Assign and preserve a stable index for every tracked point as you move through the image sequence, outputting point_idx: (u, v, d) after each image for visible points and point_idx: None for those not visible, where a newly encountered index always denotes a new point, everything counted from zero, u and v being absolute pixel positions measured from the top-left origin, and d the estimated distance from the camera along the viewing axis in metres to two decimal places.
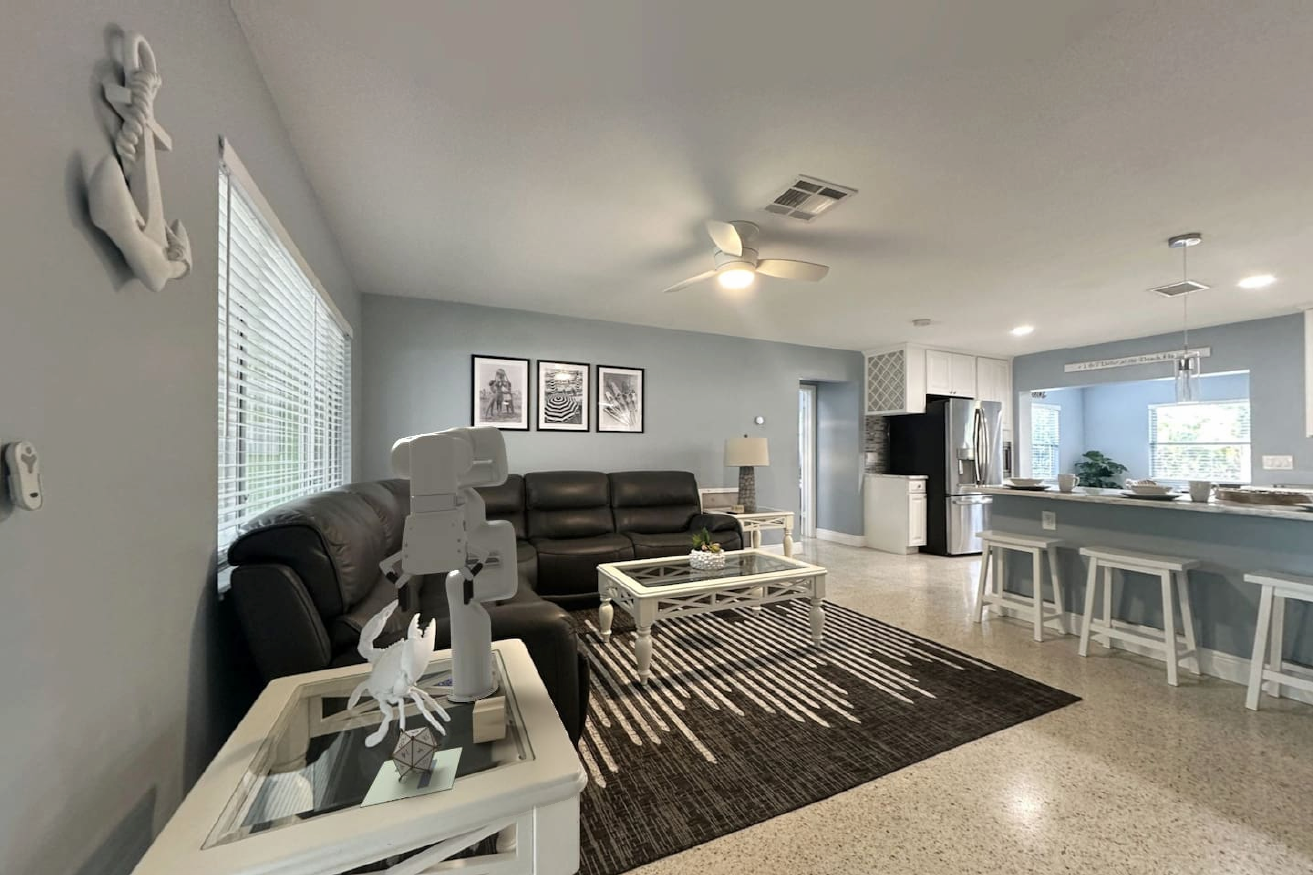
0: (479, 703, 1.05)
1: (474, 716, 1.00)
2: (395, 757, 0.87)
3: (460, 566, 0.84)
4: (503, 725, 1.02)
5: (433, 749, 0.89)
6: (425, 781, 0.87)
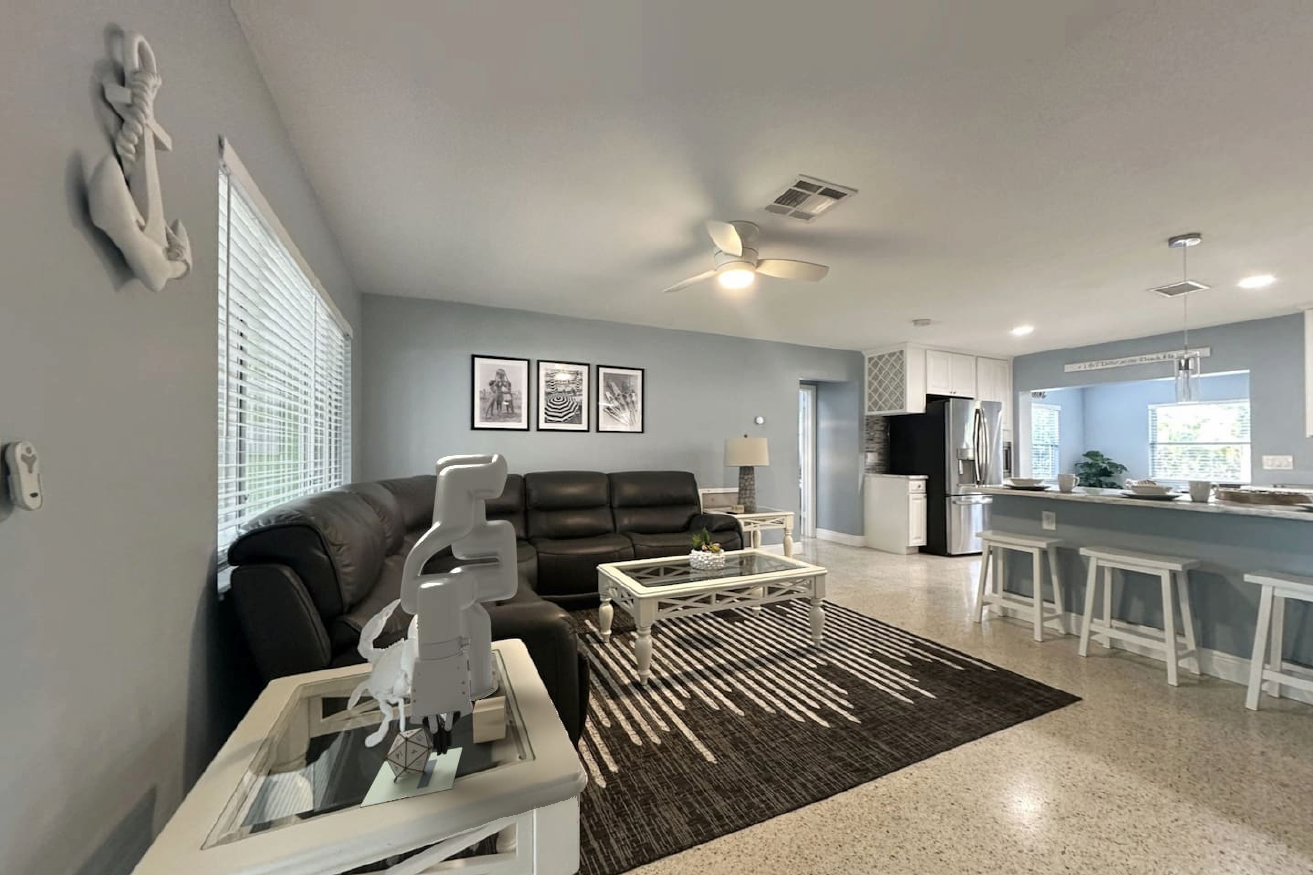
0: (479, 703, 1.05)
1: (474, 716, 1.00)
2: (389, 758, 0.87)
3: (464, 706, 0.91)
4: (503, 725, 1.02)
5: (427, 750, 0.89)
6: (425, 781, 0.87)
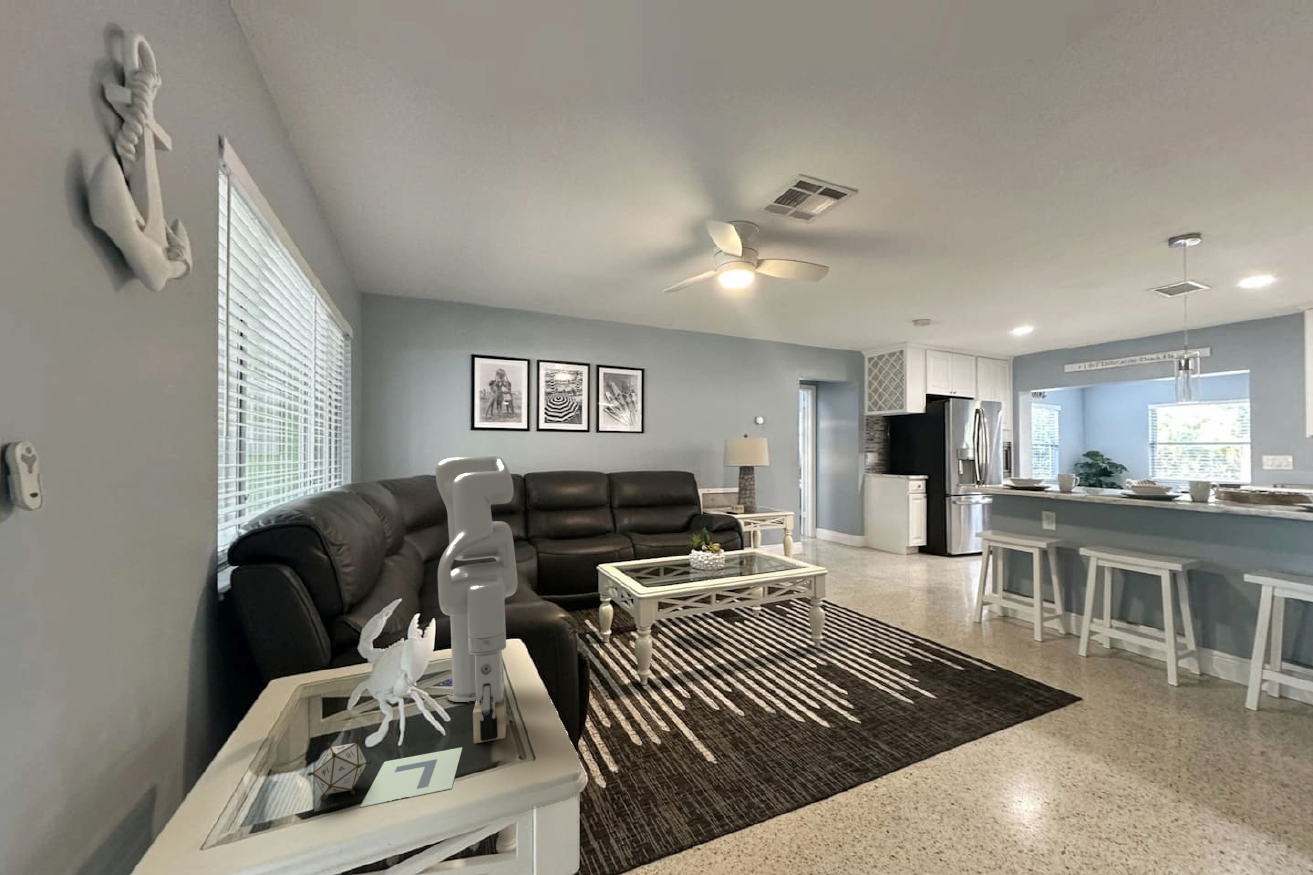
0: None
1: (474, 716, 1.00)
2: (316, 774, 0.84)
3: (477, 703, 1.00)
4: (503, 725, 1.02)
5: (356, 768, 0.85)
6: (425, 781, 0.87)
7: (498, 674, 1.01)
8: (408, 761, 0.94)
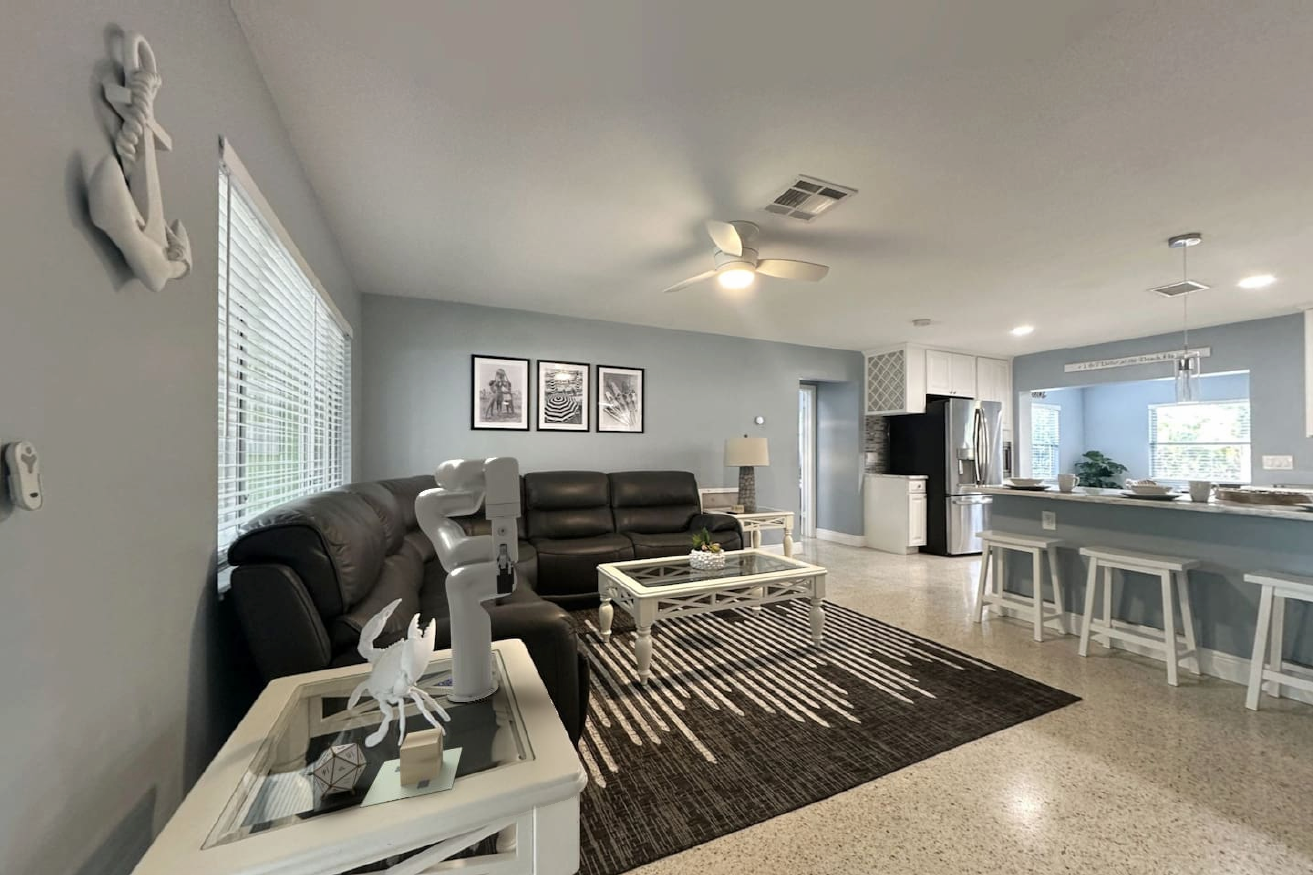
0: (410, 736, 0.91)
1: (401, 753, 0.87)
2: (316, 774, 0.84)
3: (494, 562, 1.07)
4: (436, 763, 0.88)
5: (356, 768, 0.85)
6: (425, 781, 0.87)
7: (514, 536, 1.08)
8: None
